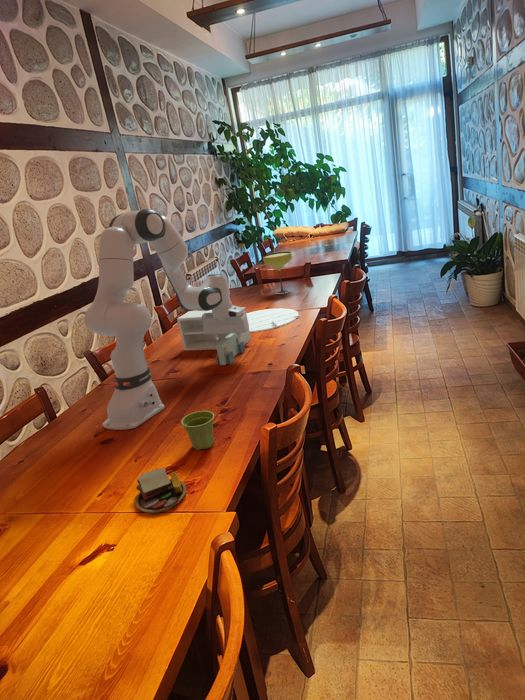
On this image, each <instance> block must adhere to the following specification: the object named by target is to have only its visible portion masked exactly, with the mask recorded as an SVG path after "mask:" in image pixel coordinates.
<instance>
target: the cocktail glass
mask: <svg viewBox="0 0 525 700" xmlns="http://www.w3.org/2000/svg"><path fill="white" fill-rule="evenodd" d="M292 257H293V256H292V253H291V252H290V251H280V252H274V253H269V254H265V255H264V256H263V257H262V259H263V263H264V264H265V265H267V266H270V267H272V268H275V269H276V271H278V274H279V281H280V290H278V291H279V292H278V291H276V292H277V293H285V292H288V291H287V290H288V289H285V290H284V287H283V282H282V277H281V270H282V268H283V267H284V266H285V265H286V264H288V263H289V262H290V261H291V259H292Z"/></svg>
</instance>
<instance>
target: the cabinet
mask: <svg viewBox="0 0 525 700" xmlns="http://www.w3.org/2000/svg"><path fill="white" fill-rule="evenodd" d="M240 307H241V308H244V313H243V314H245V315H246V317H247V314H246V313H247V309H246V306H245V307H242V306H240ZM204 313H212V310H209V311H197V310H190V311H187V312H186V313H184V314H182V315H181V316H178V317H177V318H176V319H177V324H178V328H179V332H180V333H179V334H180V337H181V341H182V346H183V351H204V350H205V351H207V350H210V349H211V350H212V349H213V350H217V347H216V345H217V343H216V340H215V339H214V337H213V336H212V334H205V333H204V330H203V321H202V315H203V314H204ZM229 334H230V333H227V334H217V337H218V338H219V339H220V338H221V340H223V339H224V338H225V337H226V336H227V335H229ZM240 339H241V342H244V345H245V344H246V343H247V344H248V343H249V342H251V340H252V337H251V332H250V331H249V329H248V331H247V332H245V333H242V335H241V338H240ZM247 344H246V345H247ZM246 345H245V346H246ZM213 350H212V351H213Z"/></svg>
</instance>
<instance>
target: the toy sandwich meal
mask: <svg viewBox="0 0 525 700" xmlns="http://www.w3.org/2000/svg"><path fill="white" fill-rule="evenodd" d="M170 475H171V476H170V478H169V475H168V474H167V469H166V468H156V469H152V470H150V471H147V472H145V473H143V474H141V475H140V476H138V477H137V478H136V481H137V485H136V490H137V491H139V493H138V494H137V495H136V498H135V501H134V506H135V507H136V508H137V509H138V510H139V511H142V512H144V513H148V514H157V513H158V514H159V513H162V512H166V511H168V510H170V509H173V508H174V507H175V506H177V505H178V504H179V503H180V502H181V501H182V500H183V498H184V497H185V495H186V492H187V487H186V484H185V483H184V482H183V481H180V478H179V477H178V475H177V474H176V472H175V471H172V472H171V473H170ZM181 499H182V500H181ZM178 502H179V503H178ZM177 503H178V504H177ZM176 504H177V505H176ZM173 506H174V507H173ZM165 510H166V511H165Z"/></svg>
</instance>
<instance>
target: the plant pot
mask: <svg viewBox="0 0 525 700" xmlns="http://www.w3.org/2000/svg"><path fill="white" fill-rule="evenodd" d="M214 418H215V414H214V412H212V411H210V410H199V411H194V412H191V413H189V414H187V415H185V416H184V417H183V418H182V419H181V421H180V422H181V425H182V426H183V427H184V429H185V430H186V433H187V436H188V437H189V440H190V442H191V444H192V448H193V449H194V450H197V451H198V450H199V451H201V450H203V449H205V450H206V449H208V448H211V447H212V446H213V445H214V442H215V441H214V438H215V437H214Z"/></svg>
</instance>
